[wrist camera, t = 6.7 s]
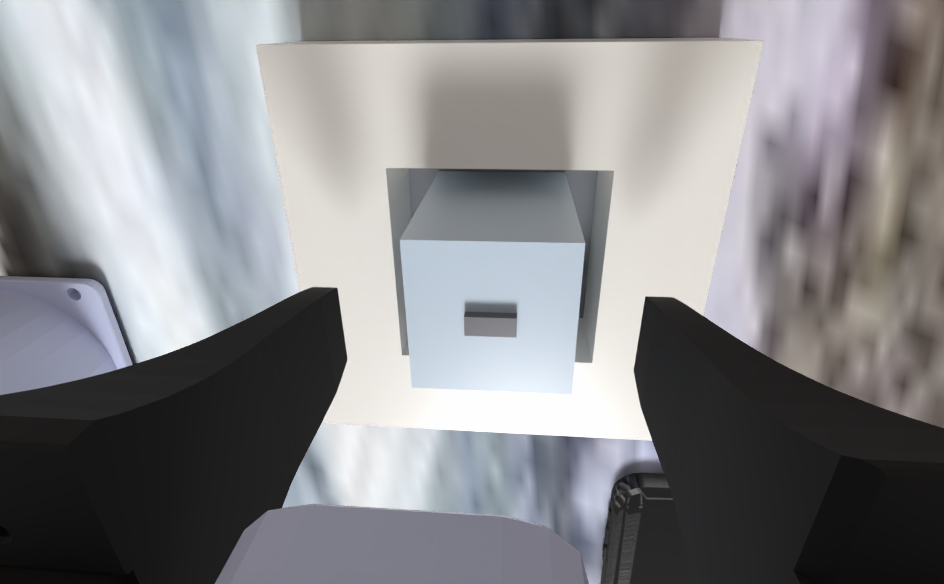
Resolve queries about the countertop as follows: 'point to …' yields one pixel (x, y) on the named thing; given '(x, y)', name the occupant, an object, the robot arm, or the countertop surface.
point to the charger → (493, 283)
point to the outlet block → (507, 150)
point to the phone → (644, 534)
